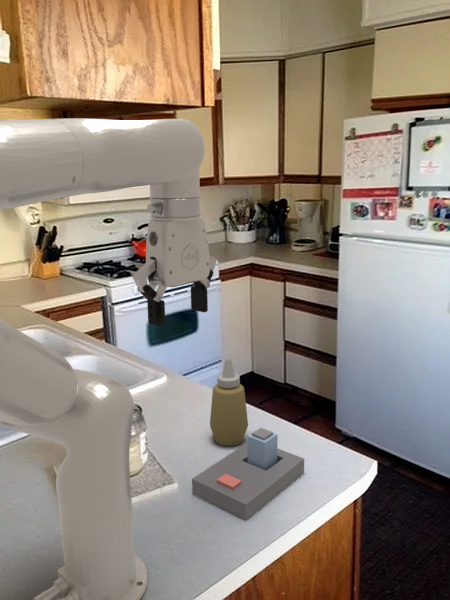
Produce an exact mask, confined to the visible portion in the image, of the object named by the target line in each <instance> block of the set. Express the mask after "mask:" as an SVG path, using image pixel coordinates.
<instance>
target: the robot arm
mask: <svg viewBox="0 0 450 600" xmlns="http://www.w3.org/2000/svg"><path fill="white" fill-rule="evenodd" d="M205 147H206V146H205V141H204V138H203V135H202V133H201V130H200V129H199V128H198V126H197V125H195V123H193V122H192V121H191V120H188V119H185V118H161V119H142V120H141V119H139V120H137V119H136V120H135V119H133V120H130V119H129V120H128V119H127V120H126V119H124V120H123V119H122V120H121V119H105V118H88V117H87V118H84V117H82V118H80V117H79V118H78V117H75V118H71V117H70V118H69V117H68V118H64V117H63V118H47V119H45V118H44V119H43V118H42V119H41V118H40V119H7V120H0V211H4V210H9V209H16V208H20V207H25V206H28V205H29V206H30V205H34V204H39V203H43V202H49V201H53V200H58V199H64V198H70V197H75V196H80V195H87V194H88V195H89V194H98V193H99V194H101V193H105V192H106V193H107V192H113V191H117V190H118V191H119V190H123V189H131V188H137V187H144V186H145V187H146V186H149V199H150V200H149V201H150V203H149V204H147V208H146V210H147V212H148V213H149V214H150V219H149V220H148V224H147V225H148V226H147V232H146V242H145V243H146V245H145V246H146V247H145V248H146V249H145V263H144V264H143V265H142V266H141V267H140V268H138V270H137V271H135V272H134V273H133V274H132V279H133V281H134V283H135V285H136V287H137V290H138V292H139V293H140V294H141V295H142V297H143V299H145V300H146V301H147V322H148V323H149V324H151V325H154V326H157V327H163V326H165V325H166V305H165V304H166V303H165V300H162V298H163V296H164V294H165V292H166V290H167V289H168V288H176V287H182V286H185V285H188V284H192V285H193V286H192V285H191V286H190V308H191V310H192V311H195V312H196V311H197V312H200V313H207V312H208V310H209V308H208V307H209V305H208V304H209V302H208V289H209V288H210V286H211V282H210V281H211V279H212V277H213V276H214V269H215V267H216V263H217V259H216V257H214V256H212V255H210V250H209V249H210V248H209V239H208V232H207V231H208V230H207V228H206V223H205V219H204V216H201V197H200V196H201V193H200V191H201V189H200V188H201V187H200V183H201V182H200V167H201V165H202V163H203V161H204V158H205V153H206V152H205V151H206V150H205ZM134 413H135V403H134V399H133V396H132V394H131V392H130V390H129V389H128V387H126V386H125V384H123V383H122V382H121V381H119V380H117V379H115V378H112V377H111V376H108V375H105V374H101V373H97V372H93V371H86V370H83V369H78V368H77V369H76V368H73V366H72V365H71V364H70V362H69V361H68V360H67V359H66V358H65V357H64V356H63V355H62V354H60V353H59V352H58V351H57V350H55V349H53V348H52V347H50V346H48V345H46V344H44V343H43V342H40V341H38V340H36V339H34V338H33V337H31V336H29V335H28V334H25V333H24V332H22V331H21V330H18V329H17V328H15V327H14V326H13V325H12V324H10V323H8V322H7V321H5V320H4V319H3V318H2V317H1V315H0V426H3V427H4V428H5V427H6V428H8V429H11V430H15V431H17V432H20V433H24V434H27V435H30V436H32V437H33V436H34V437H37V438H40V439H44V440H47V441H51V442H53V443H56V444H58V445H62V446H63V447H64V448H65V450H66V456H65V458H64V459H63V461H62V462H61V464H60V465H59V467H58V469H57V472H56V478H55V487H56V488H55V489H56V498H57V504H58V514H59V525H60V534H61V544H62V545H61V546H62V554H63V557H62V558H63V566H61V567H59V568H58V569H57V570H56V571H57V579H56V580H55V581H53V583H52V586H51V587H50V588H48V589H47V590H44V591H42V592H41V593H39V594H38V595H37V596H35V597H34V598H33V599H32V600H141V598H143V596H144V594H145V593H146V590H147V587H148V580H149V579H148V569H147V567H146V565H145V563H144V562H143V560H142V559H141V558H140V557H139V556H138V555H137V554H136V550H135V548H136V547H135V532H134V519H133V518H134V517H133V502H132V501H133V500H132V499H133V498H132V486H131V473H130V472H131V470H130V446H131V445H130V444H131V435H132V428H133V427H132V426H133V421H134V415H135V414H134Z"/></svg>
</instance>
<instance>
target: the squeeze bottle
mask: <svg viewBox="0 0 450 600" xmlns="http://www.w3.org/2000/svg"><path fill="white" fill-rule="evenodd" d="M232 362H233V361H232V359H231V358H225V361H224V365H223V370H222V373H220V374H218V375H217V376H216V384H215V385H214V386H213V387H212V393H211V396H212V397H211V405H210V418H209V427H210V429H211V432H212V435H213V438H214V440H215V442H216V443H218V444H219V445H221V446H225V447H226V446H227V447H229V446H231V447H232V446H236V445H237V446H238V445H239V444H241V443H242V442H243V440H244V438H245V436H246V432H247V429H248V426H249V422H248V421H249V419H248V410H247V403H246V402H247V401H246V392H245V387H244V386H243V385H242V384H241V381H240V378H241V377H240V375H239V374H238V373H236V372H234V367H233V363H232Z"/></svg>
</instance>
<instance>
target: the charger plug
mask: <svg viewBox="0 0 450 600" xmlns="http://www.w3.org/2000/svg"><path fill="white" fill-rule="evenodd" d="M278 435H279V434H277V433H275V432H273V431H271V430H268V429H265V428H262V427H259V428H258V429H256V430H255V431H253V432H251V433H250V434H248V435H247V439H246V441H247V442H246V443H247V463H249V464H251V465H254V466H256V467H258V468H261V469H263V470H265V471H267V470H268V469H269V468H271V467H272V466H273V465H275V464H276V463H277V448H278V441H279V440H278Z"/></svg>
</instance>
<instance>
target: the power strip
mask: <svg viewBox="0 0 450 600" xmlns="http://www.w3.org/2000/svg"><path fill="white" fill-rule="evenodd" d="M304 473H305V458H304V457H300V456H298V455H296V454H293V453H291V452H289V451H285V450H282V449H281V448H278V447H277V463H276V464H275V465H273V466H272V467H271V468H269V469H268V470H267V471H265V470H263V469H261V468H258V467H256V466H254V465H251V464H249V463H247V442H246V443H244V444H243V445H241V446H240V447H238V448H237V449H235V450H234V451H232V452H231V453H229V454H228V455H226V456H225V457H223V458H222V459H219V461H217V462H215V463H214V464H212V465H211V466H209V467H208V468H207V469H205V470H203V471H201V472H200V473H198V474H197V475H196V476H193V478H192V479H191V484H192V485H191V486H192V487H191V488H192V489H191V491H192V495H194V496H196V497H198V498H200V499H202V500H204V501H207V502H208V503H210V504H212V505H215V506H216V507H218V508H220V509H222V510H224V511H227V512H228V513H230V514H232V515H234V516H236V517H238V518H240V519H242V520H244V521H248V520H249V519H250V518H251V517H252V516H254V515H255V514H256V513H257V512H258V511H260V510H261V509H263V507H264V506H266V505H267V504H268V503H269V502H271V501H272V500H273V499H275V497H277V496H278V495H279V494H280V493H281V492H283V491H284V490H285V489H287V487H289V486H290V485H291V484H292V483H294V482H295V481H296V480H298V478H300V477H301V476H302V475H304Z"/></svg>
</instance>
